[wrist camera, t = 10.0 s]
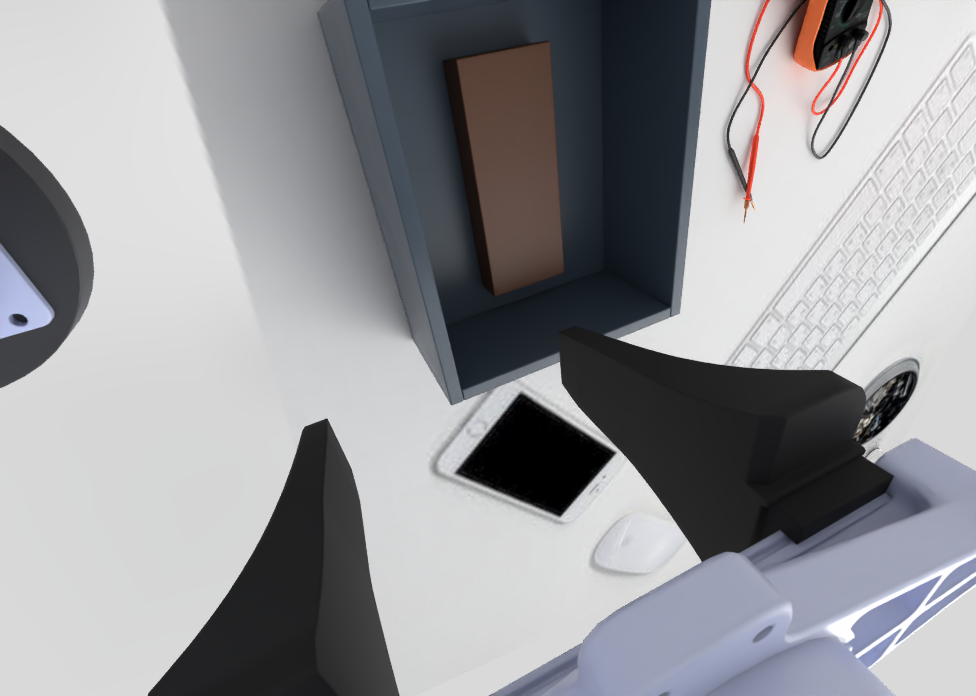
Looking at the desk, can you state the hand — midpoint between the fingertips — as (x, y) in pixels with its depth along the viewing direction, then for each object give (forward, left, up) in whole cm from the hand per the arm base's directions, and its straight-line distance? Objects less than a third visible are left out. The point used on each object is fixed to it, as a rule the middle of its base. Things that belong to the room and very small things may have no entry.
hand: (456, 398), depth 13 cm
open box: (+7, +3, -10) cm, 13 cm away
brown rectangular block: (+7, +3, -10) cm, 12 cm away
